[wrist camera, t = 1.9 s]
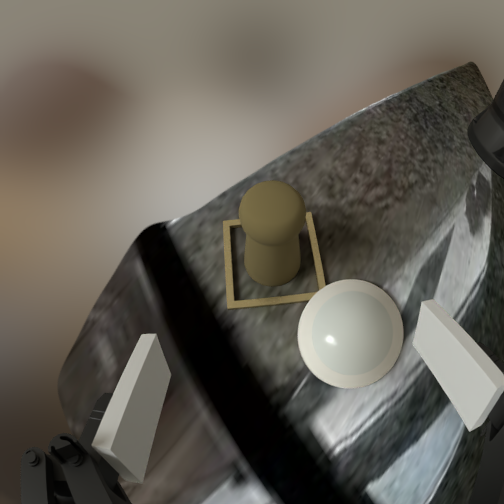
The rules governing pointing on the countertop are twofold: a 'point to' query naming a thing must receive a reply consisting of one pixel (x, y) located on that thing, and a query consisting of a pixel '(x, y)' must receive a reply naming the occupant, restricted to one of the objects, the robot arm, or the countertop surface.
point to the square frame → (273, 300)
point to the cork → (272, 231)
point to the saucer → (350, 334)
